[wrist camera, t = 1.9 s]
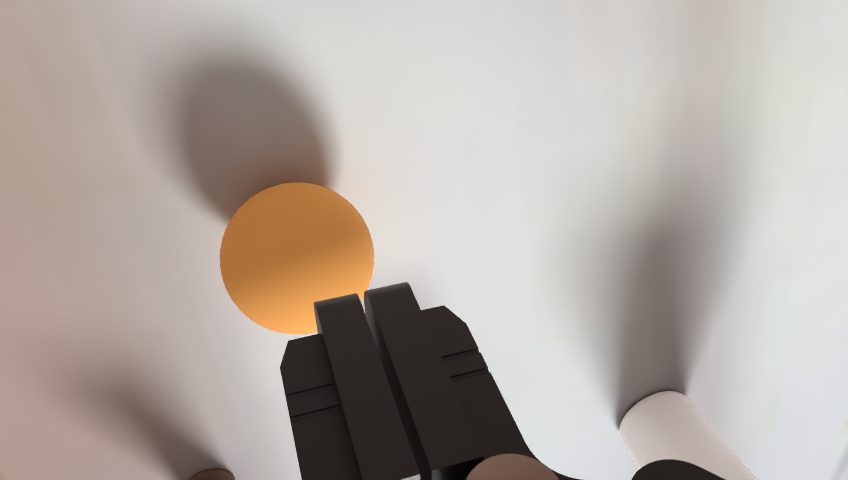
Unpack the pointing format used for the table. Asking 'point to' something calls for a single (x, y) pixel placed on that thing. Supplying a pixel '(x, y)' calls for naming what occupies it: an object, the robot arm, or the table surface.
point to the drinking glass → (678, 436)
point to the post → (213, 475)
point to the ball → (294, 255)
